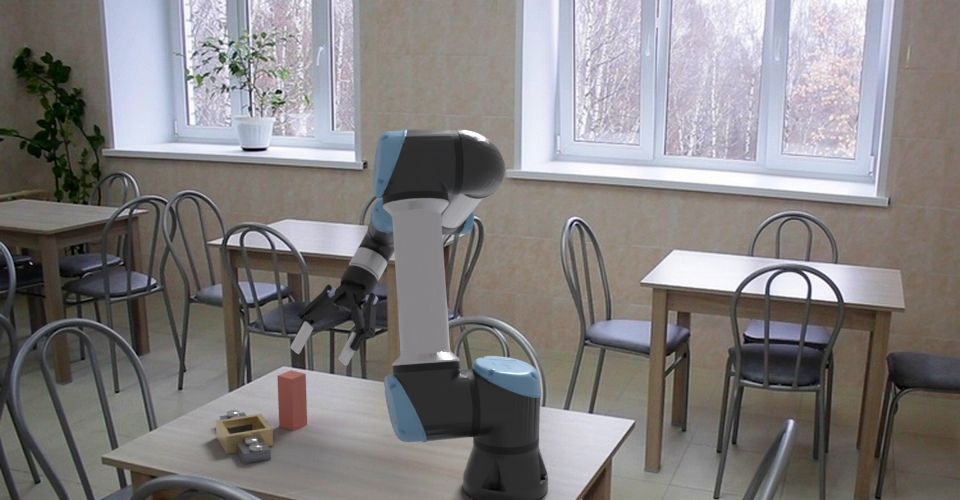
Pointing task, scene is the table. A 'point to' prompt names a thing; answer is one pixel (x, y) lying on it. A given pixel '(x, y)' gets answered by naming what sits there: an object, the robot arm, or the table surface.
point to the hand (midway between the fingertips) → (318, 356)
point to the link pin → (292, 400)
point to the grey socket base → (245, 436)
